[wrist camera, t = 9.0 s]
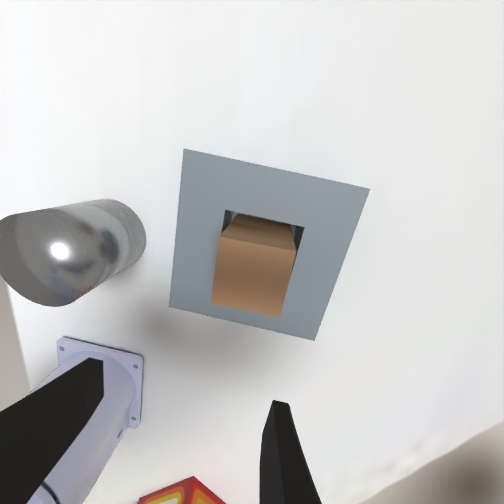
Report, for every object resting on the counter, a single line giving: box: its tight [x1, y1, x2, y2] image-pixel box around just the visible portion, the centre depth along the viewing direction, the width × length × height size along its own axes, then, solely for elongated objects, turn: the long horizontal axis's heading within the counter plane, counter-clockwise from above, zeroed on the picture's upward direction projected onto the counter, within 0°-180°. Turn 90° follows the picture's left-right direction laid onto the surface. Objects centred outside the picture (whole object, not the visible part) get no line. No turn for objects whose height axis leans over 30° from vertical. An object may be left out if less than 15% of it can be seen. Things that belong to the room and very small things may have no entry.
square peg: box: [211, 214, 296, 317], centre depth 14 cm, size 4×4×6 cm
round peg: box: [0, 199, 146, 307], centre depth 15 cm, size 5×5×6 cm
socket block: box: [169, 149, 370, 340], centre depth 16 cm, size 10×10×3 cm
